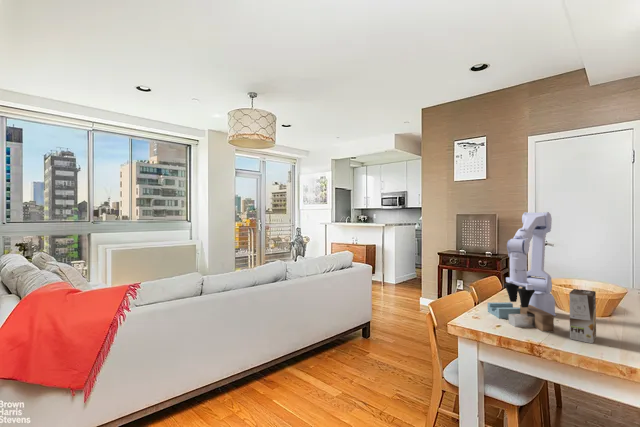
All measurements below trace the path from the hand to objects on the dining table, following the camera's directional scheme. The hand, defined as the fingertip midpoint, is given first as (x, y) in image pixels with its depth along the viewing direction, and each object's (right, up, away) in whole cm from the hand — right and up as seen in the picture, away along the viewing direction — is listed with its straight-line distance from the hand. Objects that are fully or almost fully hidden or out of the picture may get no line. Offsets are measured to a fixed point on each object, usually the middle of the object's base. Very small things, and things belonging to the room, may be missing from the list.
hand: (518, 304), depth 126 cm
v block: (+2, -8, +13) cm, 15 cm away
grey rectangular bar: (+3, -6, 0) cm, 7 cm away
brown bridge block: (+7, -8, 0) cm, 10 cm away
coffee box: (+14, -8, -13) cm, 21 cm away
